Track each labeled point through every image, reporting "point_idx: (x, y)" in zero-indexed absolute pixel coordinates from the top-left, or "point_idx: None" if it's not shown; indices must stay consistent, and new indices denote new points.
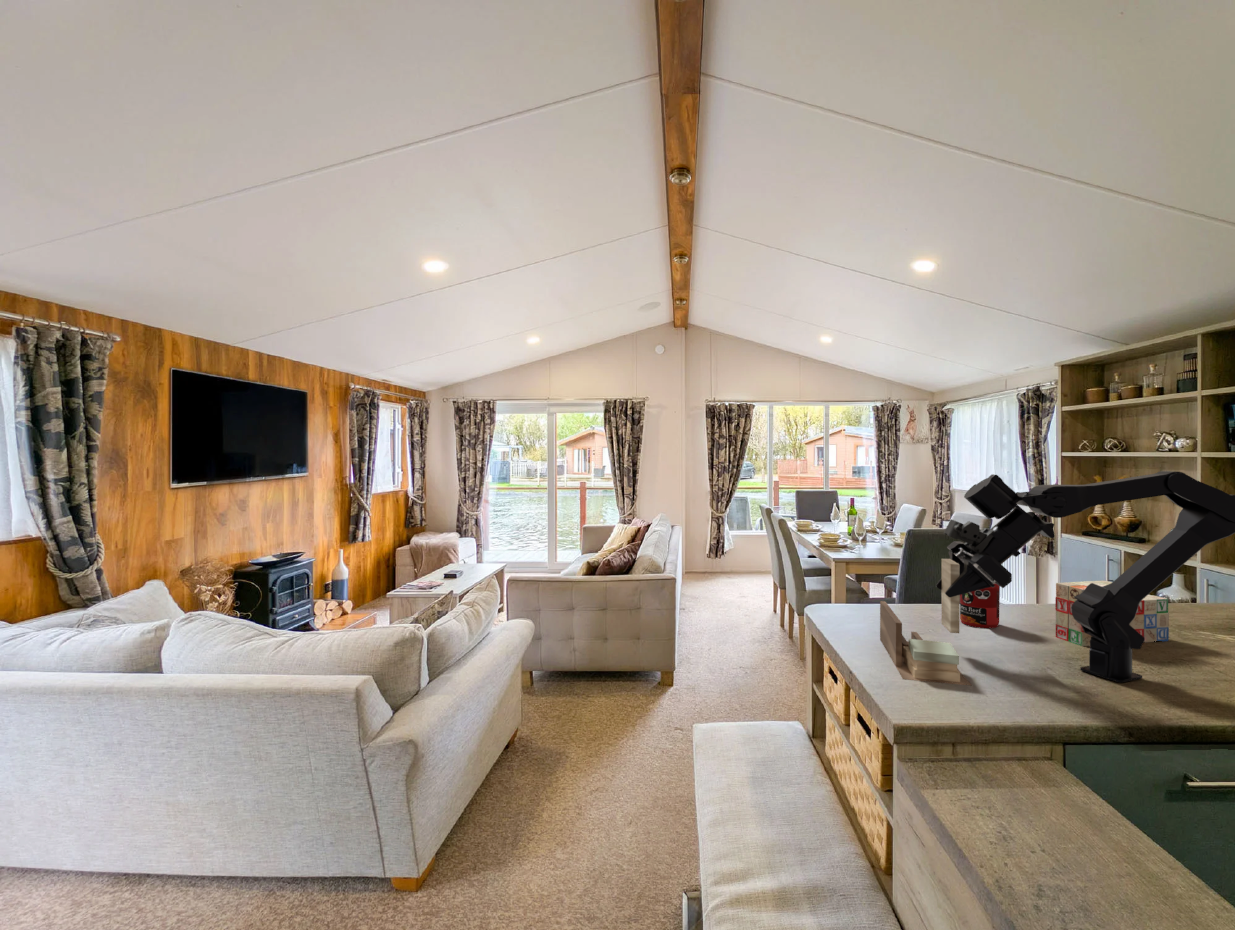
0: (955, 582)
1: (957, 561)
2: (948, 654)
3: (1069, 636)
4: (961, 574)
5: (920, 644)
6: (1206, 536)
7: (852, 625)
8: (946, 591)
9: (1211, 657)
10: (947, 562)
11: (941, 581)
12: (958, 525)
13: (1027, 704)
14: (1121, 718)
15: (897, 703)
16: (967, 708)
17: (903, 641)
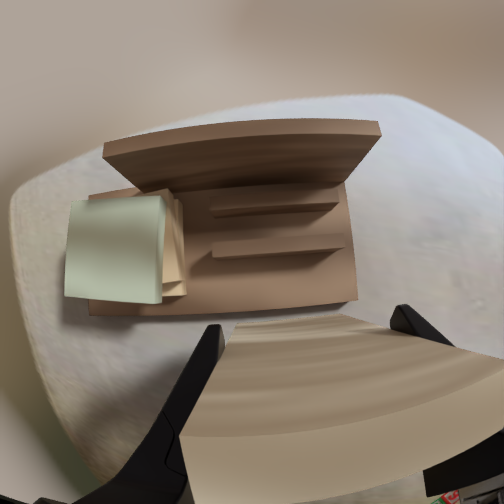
0: (179, 394)
1: (491, 459)
2: (66, 274)
3: (442, 502)
4: (174, 457)
5: (118, 220)
6: None
7: (450, 149)
8: (210, 331)
9: None
10: (323, 426)
11: (411, 334)
12: None
13: (91, 388)
14: (103, 476)
15: (47, 190)
16: (49, 288)
17: (235, 198)
